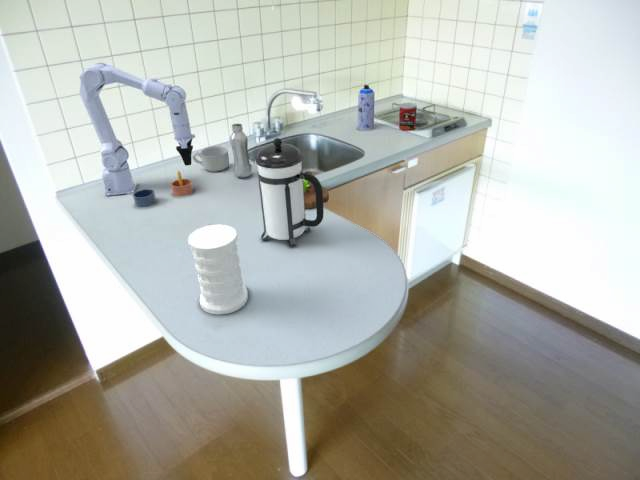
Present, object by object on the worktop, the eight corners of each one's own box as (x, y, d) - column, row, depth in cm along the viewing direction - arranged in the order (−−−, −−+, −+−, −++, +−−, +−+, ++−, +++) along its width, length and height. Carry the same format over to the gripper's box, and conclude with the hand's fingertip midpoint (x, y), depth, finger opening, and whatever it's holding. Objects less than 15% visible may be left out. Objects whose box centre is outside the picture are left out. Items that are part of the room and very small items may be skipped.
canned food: (397, 130, 218) (398, 107, 213) (400, 125, 225) (401, 102, 219) (414, 131, 216) (415, 107, 211) (416, 126, 223) (417, 103, 217)
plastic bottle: (249, 179, 176) (242, 128, 166) (232, 179, 177) (224, 127, 167) (254, 173, 181) (248, 122, 171) (238, 172, 183) (231, 122, 172)
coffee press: (266, 254, 131) (254, 152, 115) (257, 227, 144) (245, 133, 128) (325, 243, 134) (321, 143, 119) (311, 218, 148) (306, 125, 132)
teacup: (233, 164, 190) (231, 145, 186) (226, 174, 181) (223, 155, 177) (200, 164, 192) (197, 145, 188) (192, 174, 183) (188, 155, 178)
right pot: (172, 198, 165) (169, 187, 163) (174, 190, 171) (172, 179, 169) (192, 196, 166) (190, 185, 164) (193, 188, 172) (191, 178, 170)
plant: (262, 192, 166) (259, 162, 160) (314, 182, 172) (312, 153, 166) (278, 216, 150) (275, 184, 144) (334, 204, 156) (333, 173, 150)
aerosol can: (355, 126, 226) (355, 84, 215) (370, 124, 227) (371, 82, 217) (361, 131, 219) (361, 88, 209) (376, 129, 221) (377, 86, 211)
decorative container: (250, 283, 119) (241, 222, 110) (245, 313, 109) (235, 248, 100) (204, 286, 119) (192, 224, 110) (196, 315, 109) (181, 251, 100)
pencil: (181, 192, 167) (176, 171, 163) (181, 191, 168) (176, 170, 164) (184, 192, 168) (180, 171, 163) (184, 190, 169) (180, 170, 164)
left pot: (134, 209, 158) (131, 198, 156) (137, 200, 164) (134, 190, 162) (155, 207, 159) (152, 196, 157) (158, 198, 165) (155, 188, 163)
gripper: (193, 128, 155) (200, 167, 162) (192, 116, 167) (198, 152, 174) (171, 131, 154) (179, 169, 161) (172, 119, 166) (179, 155, 173)
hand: (188, 161), depth 167 cm, fingers open, 7 cm apart
